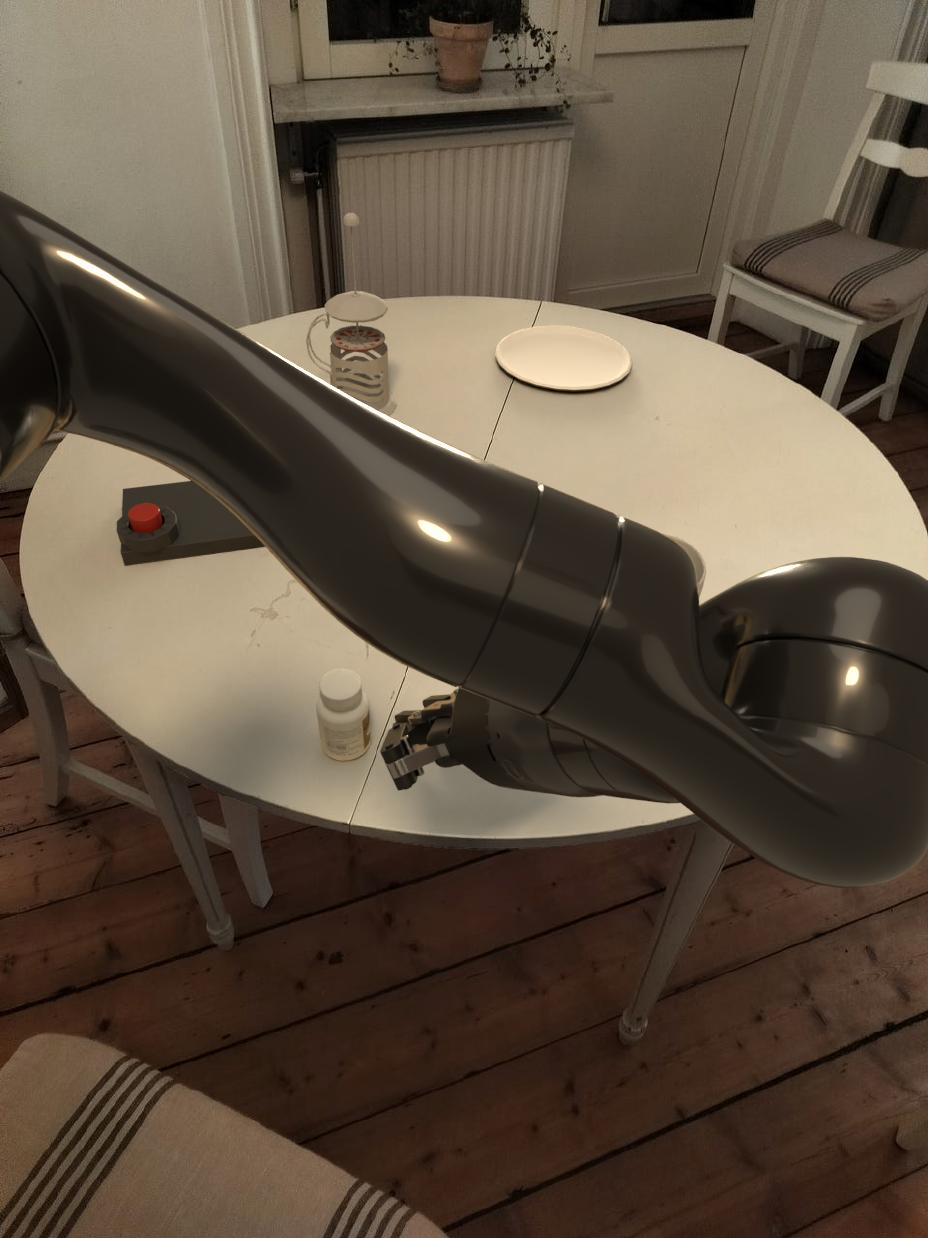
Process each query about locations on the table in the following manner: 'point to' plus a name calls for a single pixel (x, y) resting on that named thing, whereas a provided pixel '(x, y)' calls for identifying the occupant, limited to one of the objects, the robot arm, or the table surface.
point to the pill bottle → (343, 715)
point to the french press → (357, 344)
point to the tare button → (145, 518)
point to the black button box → (181, 525)
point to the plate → (563, 358)
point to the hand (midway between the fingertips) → (417, 720)
